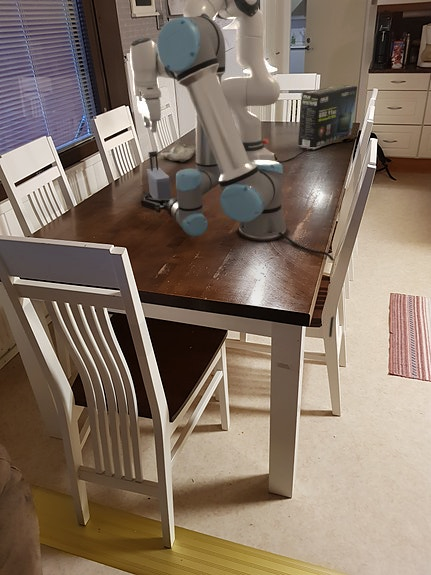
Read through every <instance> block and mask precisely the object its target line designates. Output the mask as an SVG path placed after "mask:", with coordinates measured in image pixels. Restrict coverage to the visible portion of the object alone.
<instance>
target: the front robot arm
mask: <svg viewBox="0 0 431 575" xmlns="http://www.w3.org/2000/svg"><path fill="white" fill-rule="evenodd" d="M222 31H223V30H222V29H221V27H220V26H219V24H218V23H217V22H216V21H215V20H212V19H210V18H208V17H205V16H197V17H184V16H178V17H177V18H173V19H170V20H169V21H167V22H166V23H164V25H163V26H162V27H161V29H160V31H159V34H158V36H157V37H158V38H157V40H156V44H157V51H158V55H159V58H160V60H161V62H162V64H163V65H164V66H165V67H166V68H168V69H169V70H171V71H173V72H174V74H175V76H176V79H177V80H176V79H175V80H176V81H177V83H178V84H179V85H181V86H183V87H185V88H186V90H187V94H188V95H189V98H190V101H191V103H192V105H193V107H194V110H195V147H196V154H195V168H184V169H180V170H179V171H176V174H175V188H176V196H174V197H171V199H165V198H163V199H156V198H153V197H151V195H150V194H149V193H148V192H147V191H146V190H143V192H142V195H143V196H142V198H140V206H141V207H142V208H146V209H149V210H151V211H154V212H156V213H158V214H159V213H161V211H162V210H165V211H166V212H167V213H168V215H169V216H170V217H171V218H172V219H173V220H174V221H175V223H176V224H177V225H179V227H180V228H181V229H182V231H183V232H184V233H186V234H187V235H188V236H190V237H193V238H198V237H201V236H202V235H204V234H205V233H206V231H207V229H208V226H209V223H208V220H207V218H206V216H205V215H204V209H203V208H204V207H203V196H204V195H205V194H207V193H208V192H210V191H211V190H212V189H214V188H216V187H217V186H218V185H219V186H220V189H221V194H220V198H219V204H220V208H221V210H222V212H223V213H224V214H225V216H226V217H228V218H229V219H231V220H233V221H235V222H237V223H239V226H238V232H239V235H240V236H241V237H242V238H244V239H247V240H250V241H254V242H271V241H277V240H279V239H281V238H284V239H286V241H288V242H289V243H291V244H292V245H293V246H296V247H297V248H299V249H302V250H304V251H307V252H310V253H313V254H320V255H325V256H327V257H328V258H329V259H330V260H331V261H335V258H334V257H333V256H332V255H331V254H330V253H329V252H327V251H323V250H315V249H311V248H309V247H306V246H303V245H301V244H299V243H297V242H295V241H294V240H292V239H291V238H290V237H288V236H287V235H286V234H287V223H286V221H285V216H284V214H283V210H282V200H283V181H284V180H283V179H284V168H283V167H284V166H283V164H282V162H281V163H279V162H276V160H275V161H270V160H251V161H249V159H248V156H247V154H246V151H245V148H244V146H243V143H242V140H241V138H240V135H239V132H238V130H237V127H236V125H235V122H234V118H233V116H232V114H231V111H230V109H229V106H228V103H227V101H226V98H225V95H224V93H223V90H222V87H221V81H222V76H223V75H224V74H225V73H226V61H227V60H226V42H225V37H224V34H223V32H222ZM165 201H166V202H165ZM334 318H335V316H334V315H333V316H332V317H330V324H329V330H328V331H329V332H328V337H329V338H332V336H333V325H334Z"/></svg>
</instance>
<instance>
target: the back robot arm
mask: <svg viewBox="0 0 431 575" xmlns="http://www.w3.org/2000/svg"><path fill="white" fill-rule="evenodd" d="M182 15H183V16H182V17H197V16H205V17H208V18H210V19H212V20H213V21H215V18H217V19H219V20H222V21H227V20H230V19H234V20H235V24H236V36H235V37H236V38H235V39H236V41H235V59H236V60H235V61H236V62H237V63H238V65H239V66H241V67H243V68H244V69H246V70H248V71H249V72H250V76H243V77H242V76H236V77H235V76H233V77H228V78H224V79H221V87H222V90H223V93H224V95H225V98H226V101H227V103H228V106H229V109H230V111H231V114H232V117H233V119H234V122H235V125H236V127H237V130H238V132H239V135H240V138H241V140H242V143H243V146H244V148H245V151H246V154H247V156H248V159H249V161H251V160H270V161H276V160H278V157H277V156H276V153H273V152H271V151H270V150H268V149H267V148H266V147H265V145H268V144H269V140H268V139H267V138H263V139H262V121H261V119H260V117H258V116H257V115H255V114H253V113H252V112H250V111H249V109H248V107H265V106H270V105H274V104H275V103H277V101H278V100H279V98H280V94H281V86H280V83H279V82H278V80H277V79H276V78H275V77H274V76H273V75H272V74H271V72H270V71H269V70H268V68H267V65H266V62H265V23H264V22H265V21H264V16H263V12H262V10H260V0H187V1H186V3H185V4H184V7H183V9H182ZM129 47H130V48H129V61H130V68H131V71H132V85H133V95H134V97H136V103H137V111H138V113H139V114H140V115H141V116H142V120H143V125H144V127H145V128H146V129H147V128H149V129H150V132H151V133H153V134H154V133H157V124H158V122H160V121H161V118H162V104H161V99H160V98H162V91H161V89H160V87H159V79H158V78H165V79H173V80H176V81H177V79H176V76H175V74H174V72H173V71H171V70H169V69H168V68H166V67H165V66H164V65H163V64H162V62H161V60H160V58H159V55H158V51H157V42H154V41H153V40H152V39H151V38H150V37H144V38H138V39H135V40H133V41H132V42H131V44H130V46H129ZM355 139H358V136H357V137H356V138H355ZM264 144H265V145H264ZM303 150H304V151H303ZM303 150H301V151H300V152H301V153H300V152H298V153H299V154H298V153H296V156H295V155H294V156H295V157H294V156H292V157H289V158H287V159H285V160H278V161H276V162H279V163H281V164H282V163H285V162H286V163H287V162H288V161H292V160H293V159H296V158H298V156H300V155H302V154H304V153H305V152H307V151H310V149H308V150H307V149H303Z"/></svg>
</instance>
